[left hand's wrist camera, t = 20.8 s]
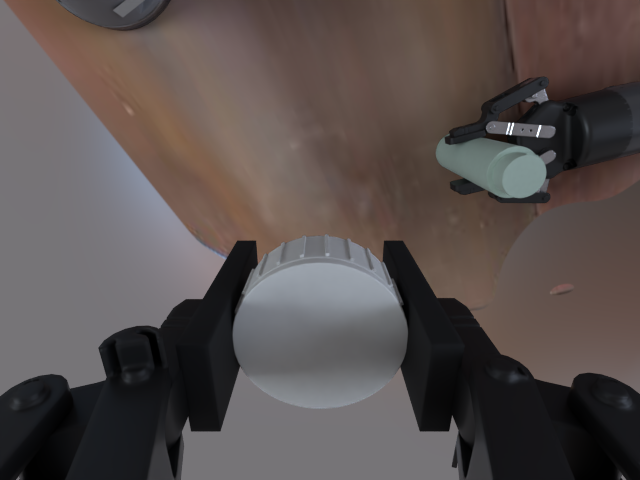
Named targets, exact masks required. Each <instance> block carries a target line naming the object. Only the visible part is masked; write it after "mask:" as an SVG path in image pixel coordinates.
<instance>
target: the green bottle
mask: <svg viewBox="0 0 640 480" xmlns="http://www.w3.org/2000/svg"><path fill="white" fill-rule="evenodd" d="M449 135H450V134H448V135H446V136H449ZM446 136H445V137H446ZM436 157H437V160H438V162H439V163H440V165H441V166H443V167H445V168H446V169H448V170H450V171H452V172H454V173H456V174H458V175H460V176H461V177H463V178H465V179H467V180H469V181H471V182H473V183H474V184H476V185H478V186H480V187H482V188H484V189H486V190H488V191H489V192H491V193H493V194H495V195H497V196H499V197H503V198H512V197H514V198H524V197H528V196H530V195H532V194H534V193H535V192H537V191H538V190H539V189H540V187H541V186H542V185H543V183H544V181H545V178H546V167H545V163H544V161H543V160H542V158H540V157H539V156H538V155H535V153H534V152H533V151H531V150H530V149H528V148H526V147H523V146H518V145H514V144H509V143H505V142H500V141H496V140H491V139H487V138H482V137H481V138H477V139H473V140H469V141H466V142H462V143H458V144H454V145H448V144H445V138H444V137H443V138H442V139H441V140H440V142H439V144H438V146H437V149H436Z"/></svg>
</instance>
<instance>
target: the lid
mask: <svg viewBox="0 0 640 480" xmlns="http://www.w3.org/2000/svg"><path fill="white" fill-rule="evenodd" d="M402 305H404V304H403V301H402V299H401V296H400V294H399V291H398V289H397V286H396V284H395V281H394V279H391V278H390V276H389V274H388V271H387V268H386V266H385V263H384V262H382V263H381V262H380V261H379V260H378V259H377V258H376V257H375V256H374V255H373V254H372V253H371V252H370V249H368V248H367V249H365V248H363V247H361V246H360V245H358V244H355V243H353V242H351V240H350V239H348V238H347V240H345V239H341V238H337V237H331V236H328V234H325V236H310V237H306V235H304V236H302V238H299V239H296V240H293V241H290V242H287V243H285V242H283V243H281V246H279V247H277V248H276V249H275V250H273V251H272V252H270V253H269V254H268V255H267V254H265V255H264V256H263V259H262V261H261V262H260V263H259V264H258V265H257V267H256V268H255V269H252V270H251V273H250V275H249V277H248V280H247V282H246V285H245V287H244V289H243V292H242V294H241V297H240V299H239V302H238V304H237V306H236V309H235V314H236V315H235V318H234V322H233V329H232V336H233V345H234V352H235V355H236V358H237V360H238V363H239V365H240V366H241V368H242V370H243V371H244V373H245V374H246V375H247V377H248V378H249V379H250V380H251V381H252V382H253V383H254V384H255V385H256V386H257V387H259V388H260V389H261V390H262V391H264V392H265V393H267V394H269V395H270V396H272V397H274V398H276V399H278V400H280V401H282V402H286V403H288V404H291V405H296V406H300V407H306V408H319V409H324V408H335V407H341V406H346V405H349V404H353V403H356V402H358V401H361V400H363V399H365V398H367V397H369V396H371V395H372V394H374V393H375V392H377V391H378V390H380V389H381V388H382V387H383V386H384V385H386V384H387V383H388V382H389V381H390V380H391V379H392V377H393V376H394V375H395V374H396V372H397V371H398V369H399V368H400V366H401V364H402V362H403V360H404V357H405V354H406V348H407V340H408V325H407V320H406V317H405V314H404V311H403V308H402Z"/></svg>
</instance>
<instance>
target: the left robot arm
mask: <svg viewBox="0 0 640 480" xmlns="http://www.w3.org/2000/svg"><path fill="white" fill-rule="evenodd" d="M56 1H57V2H58V3H59V4H60V5H62V6H63V7H64V8H65V9H67V10H68V11H69V12H71V13H72V14H74V15H75V16H77V17H79V18H80V19H83V20H85V21H87V22H89V23H92V24H95V25H98V26H101V27H104V28H108V29H113V30H131V29H136V28H139V27H142V26H144V25H146V24H148V23H150V22H152V21H153V20H154V19H156V18H157V17H158V16H159V15H160V14H161V13H162V12H163V11H164V9H165V8H166V7H167V5H168V4H169V2H170V0H56ZM383 262H384V263H385V266H386V268H387V271H388V274H389V276H390V278H391V279H394V281H395V284H396V286H397V289H398V291H399V294H400V296H401V299H402V301H403V304H404V305H402V308H403V311H404V314H405V317H406V320H407V325H408V340H407V348H406V354H405V357H404V360H403V362H402V364H401V366H400V367H401V370H402V374H403V377H404V380H405V384H406V387H407V390H408V394H409V397H410V400H411V404H412V407H413V410H414V413H415V417H416V420H417V423H418V427H419V430H420V431H449V429H450V423H451V418H452V416H453V418H454V420H455V423H456V425H457V427H458V430H459V431H458V436H457V441H456V446H455V451H454V456H453V462H452V467H454V468H456V467H457V463H458V470H459V480H622V478H621V476H622V475H623V476H624V477H625V478H626V480H640V394H639V393H638V392H636V391H635V390H634V389H632V388H631V387H630V386H628V385H626V384H624V383H622V382H620V381H618V380H616V379H614V378H611V377H608V376H604V375H601V374H594V373H584V374H579V375H578V376H576V377H575V378H574V380H573V383H572V386H571V387H566V386H562V385H558V384H553V383H549V382H544V381H540V380H537V379H534V377H533V376H532V374H531V373H530V371H529V370H528V369H527V368H526V367H525V366H524V365H522V364H521V363H520V362H518V361H516V360H514V359H512V358H510V357H508V356H505V355H501V354H500V353H499V351H498V350H497V348H496V347H495V346H494V344H493V343H492V342H491V340H490V339H489V337H488V336H487V334H486V333H485V332H484V330H483V329H482V328H481V327H480V325H479V323H478V322H477V320H476V319H474V316H473V315H472V313H471V312H470V311H469V309H468V308H467V307H466V306H465V305H463V304H462V303H461V302H459V301H458V300H456V299H455V298H437V297H436V296H435V294H434V292H433V291H432V289H431V287H430V286H429V284H428V282H427V281H426V279H425V277H424V276H423V274H422V272H421V270H420V269H419V267H418V265H417V264H416V262H415V260H414V259H413V257H412V255H411V254H410V252H409V250H408V249H407V247H406V245H405V244H404V242H403V241H384V250H383ZM257 265H258V261H257V247H256V241H237V242H236V244H235V246H234V247H233V249H232V251H231V252H230V254H229V256H228V257H227V259H226V261H225V262H224V264H223V266H222V268H221V269H220V271H219V273H218V274H217V276H216V278H215V279H214V281H213V283H212V284H211V286H210V288H209V290H208V291H207V293H206V294H205V296H204V298H203V299H186V300H184V301H183V302H181V303H180V304H179V305H177V306H176V307H174V308H173V310H172V311H171V312H170V314H169V315H168V317H167V320H165V321H164V322H163V324H162V325H161V328H159V329H158V328H156V327H151V326H135V327H131V328H127V329H124V330H122V331H119V332H117V333H115V334H113V335H111V336H110V337H109V338H107V339H106V340H104V341H103V343H102V344H101V345H100V347H99V352H100V355H101V359H102V362H103V366H104V369H105V373H106V376H107V378H106V380H105V381H101V382H98V383H94V384H89V385H85V386H80V387H76V388H71V389H70V388H69V385H68V382H67V380H66V379H65V378H64V377H63V376H61V375H54V374H50V375H42V376H38V377H35V378H32V379H28V380H26V381H24V382H22V383H20V384H18V385H16V386H14V387H12V388H11V389H9V390H8V391H7V392H5V393H4V394H3V395H1V396H0V480H16V479H17V478H18V476H19V478H20V479H19V480H181V471H182V461H183V450H184V442H183V436H182V430H183V427H184V425H185V423H186V420H187V418H188V417H189V422H190V428H191V431H221V427H222V424H223V421H224V417H225V414H226V411H227V408H228V404H229V401H230V397H231V394H232V391H233V388H234V384H235V381H236V378H237V374H238V371H239V368H240V365H239V363H238V360H237V358H236V355H235V352H234V345H233V336H232V329H233V322H234V318H235V315H236V314H235V309H236V306H237V304H238V302H239V299H240V297H241V294H242V292H243V289H244V287H245V285H246V282H247V280H248V277H249V275H250V273H251V270H252V269H255V268H256V267H257Z"/></svg>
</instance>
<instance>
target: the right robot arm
mask: <svg viewBox="0 0 640 480" xmlns="http://www.w3.org/2000/svg"><path fill="white" fill-rule="evenodd" d="M548 83H549V80H548V78H547V77H536V78H529V79H527V80H525V81H523V82H521V83H519V84H518V85H516V86H514V87H512V88H510V89H509V90H507V91H505V92H503V93H501V94H500V95H498V96H496V97H494V98H492V99H491V100H489V101H487V102H485V103H484V104H483V105H482V107H481V110H482V115H481V118H480V120H479V121H478V122H476V123H472V124H469V125H465V126H461V127H457V128H453V129H452V130H451V131H449V134H450V135H449V136H446V137H444V138H445V144H448V145H454V144H458V143H462V142H466V141H469V140H473V139H477V138H481V137H485V134H487V133H494V134H507V138H508V143H509V144H514V145H518V146H523V147H526V148H528V149H530V150H531V151H533V152H534V153H535V155H538V156H539V157H540V158H542V160H543V161H544V163H545V167H546V178H545V181H544V183H543V185H542V186H541V187H540V189H539V190H538V191H537V192H535V193H534V194H532V195H530V196H528V197H524V198H514V197H512V198H503V197H499V196H497V195H495V194H493V193H491V192H489V191H488V195H489V196H490V197H491V198H494V199H496V200H497V201H498V202H500V203H546V202H548V201H549V200H550V194H549V193H547V192H546V191H547V187H548V183H549V179H551V178H553V177H555V176H556V175H557V174H559V173H560V172H562V171H566V170H571V169H575V168H580V167H584V166H588V165H592V164H596V163H600V162H604V161H608V160H612V159H617V158H621V157H625V156H629V155H633V154H637V153H640V82H632V83H627V84H622V85H619V86H611V87H607V88H604V89H603V90H600V91H596V92H592V93H588V94H584V95H581V96H577V97H573V98H569V99H565V100H561V101H557V102H556V101H552V100H548V98H547V94H546V91H545V88H546V87H547V86H548ZM521 101H522V102H534V105H533V106H532V107H531V108H530V109H529V110H528V111H527V112H526V113H525V114H524V115H523V116H522V117H521V118H520V119H519V120H518V121H517V122H516V123H514V122H501V121H497V120H498V116H499V113H501V112H503V111H504V110H506V109H508V108H510V107H512V106H514V105H516V104H517V103H519V102H521ZM450 188H451V189H452V190H454V191H456V192H458V193H460V194H463V195H466V194H470V193H474V192H479V191H483V190H486V189H484V188H482V187H480V186H478V185H476V184H474V183H473V182H471V181H469V180H467V179H465V178H464V179H460V180H456V181H452V182H450Z"/></svg>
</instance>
